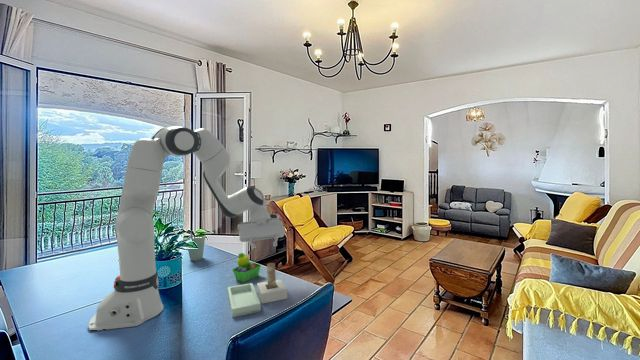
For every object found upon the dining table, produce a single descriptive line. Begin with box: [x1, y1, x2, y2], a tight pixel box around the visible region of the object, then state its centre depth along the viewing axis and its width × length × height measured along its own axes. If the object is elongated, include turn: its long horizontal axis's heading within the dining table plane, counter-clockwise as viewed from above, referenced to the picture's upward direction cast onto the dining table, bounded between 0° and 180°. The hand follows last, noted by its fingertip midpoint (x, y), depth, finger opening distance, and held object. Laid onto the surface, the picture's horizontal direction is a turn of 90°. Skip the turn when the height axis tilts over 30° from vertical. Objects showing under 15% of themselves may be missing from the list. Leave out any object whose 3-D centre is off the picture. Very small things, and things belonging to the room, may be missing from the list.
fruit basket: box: [232, 252, 262, 283], centre depth 139 cm, size 11×9×11 cm
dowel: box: [266, 262, 277, 289], centre depth 120 cm, size 3×3×13 cm
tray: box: [227, 282, 262, 318], centre depth 116 cm, size 10×19×3 cm, turn 21°
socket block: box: [256, 278, 288, 304], centre depth 121 cm, size 10×10×4 cm
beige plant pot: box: [187, 236, 206, 262], centre depth 165 cm, size 11×11×15 cm
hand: (264, 247), depth 130 cm, fingers open, 8 cm apart
